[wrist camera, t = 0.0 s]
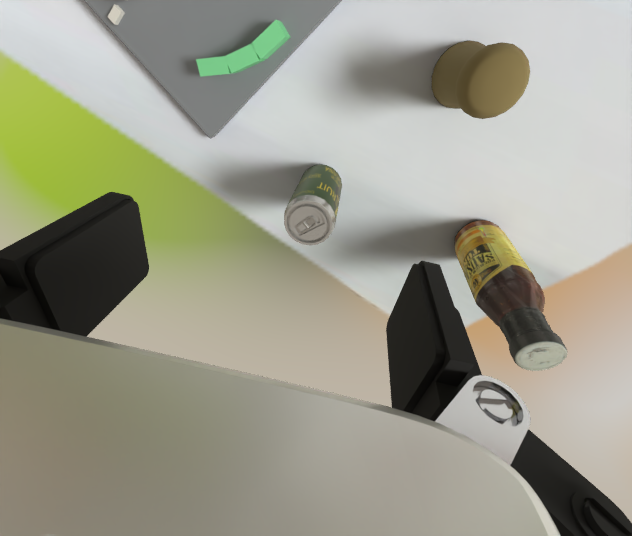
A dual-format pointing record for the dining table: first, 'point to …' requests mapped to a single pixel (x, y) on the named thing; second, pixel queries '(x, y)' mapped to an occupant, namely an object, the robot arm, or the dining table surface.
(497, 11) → the dining table surface
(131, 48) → the dial board
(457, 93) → the cork
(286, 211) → the beer can
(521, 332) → the sauce bottle
